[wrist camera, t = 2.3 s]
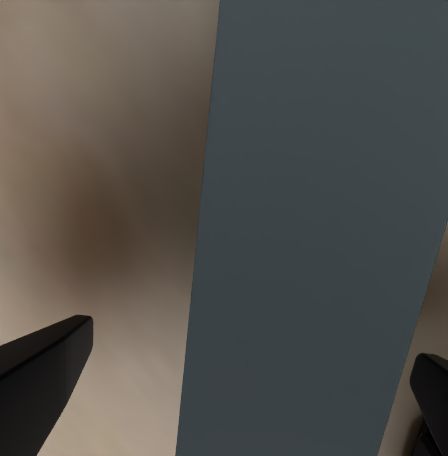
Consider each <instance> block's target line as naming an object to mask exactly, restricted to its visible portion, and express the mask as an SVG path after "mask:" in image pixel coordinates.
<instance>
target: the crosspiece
mask: <svg viewBox="0 0 448 456" xmlns="http://www.w3.org/2000/svg"><path fill="white" fill-rule="evenodd" d="M447 221H448V0H220V7H219V17H218V28H217V38H216V48H215V58H214V68H213V79H212V89H211V99H210V109H209V119H208V129H207V140H206V150H205V160H204V170H203V180H202V191H201V201H200V211H199V221H198V231H197V241H196V252H195V262H194V272H193V282H192V292H191V303H190V313H189V323H188V333H187V343H186V353H185V364H184V374H183V384H182V394H181V404H180V415H179V425H178V435H177V445H176V455H175V456H377V455H378V451H379V448H380V445H381V441H382V438H383V435H384V431H385V428H386V425H387V421H388V418H389V415H390V411H391V408H392V405H393V401H394V398H395V394H396V391H397V388H398V384H399V381H400V378H401V374H402V371H403V368H404V364H405V361H406V358H407V354H408V351H409V348H410V344H411V341H412V338H413V334H414V331H415V328H416V324H417V321H418V318H419V314H420V311H421V308H422V304H423V301H424V298H425V294H426V291H427V288H428V284H429V281H430V278H431V274H432V271H433V268H434V264H435V261H436V258H437V254H438V251H439V248H440V244H441V241H442V238H443V234H444V231H445V228H446V224H447Z"/></svg>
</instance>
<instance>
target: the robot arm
mask: <svg viewBox="0 0 448 456" xmlns="http://www.w3.org/2000/svg"><path fill="white" fill-rule="evenodd" d="M92 347H93V318H92V317H91V316H86V315H75V316H72V317H70V318H67V319H65V320H62V321H60V322H58V323H55V324H53V325H50V326H48V327H45V328H43V329H40V330H38V331H35V332H33V333H30V334H28V335H25V336H23V337H21V338H18V339H16V340H13V341H11V342H8V343H6V344H3V345H1V346H0V456H37V454H38V452H39V451H40V449H41V447H42V446H43V444H44V442H45V440H46V439H47V437H48V435H49V434H50V432H51V430H52V429H53V427H54V425H55V424H56V422H57V420H58V419H59V417H60V415H61V413H62V412H63V410H64V408H65V406H66V405H67V403H68V400H69V398H70V396H71V394H72V392H73V390H74V388H75V386H76V383H77V381H78V379H79V377H80V375H81V373H82V370H83V368H84V366H85V364H86V362H87V360H88V357H89V355H90V353H91V350H92ZM410 386H411V389H412V391H413V393H414V396H415V398H416V400H417V402H418V405H419V407H420V409H421V411H422V413H423V416H424V419H423V422H422V425H421V428H420V431H419V434H418V437H417V440H416V443H415V446H414V449H413V452H412V455H411V456H448V361H447V360H445V359H443V358H441V357H439V356H437V355H435V354H427V353H420V354H418V355H417V357H416V359H415V363H414V366H413V369H412V373H411V376H410Z"/></svg>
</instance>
